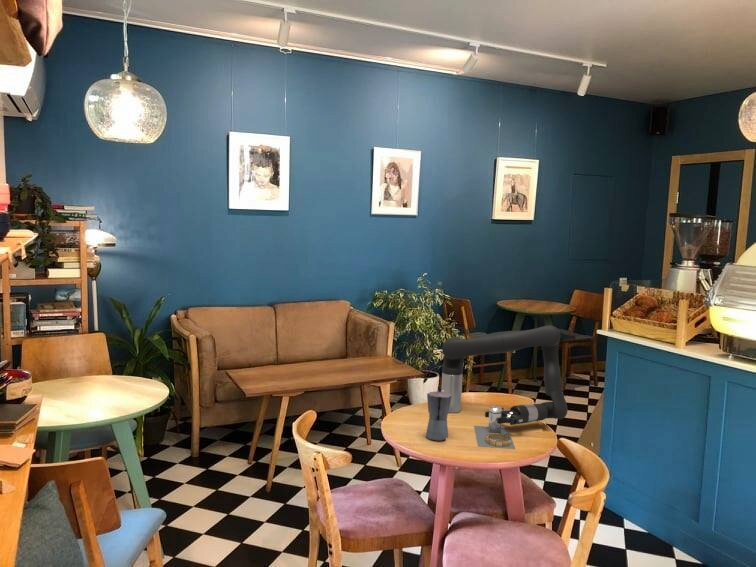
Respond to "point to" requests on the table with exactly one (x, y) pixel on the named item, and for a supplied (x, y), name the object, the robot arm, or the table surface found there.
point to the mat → (480, 437)
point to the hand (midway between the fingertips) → (491, 417)
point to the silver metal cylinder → (494, 419)
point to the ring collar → (497, 443)
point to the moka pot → (438, 415)
